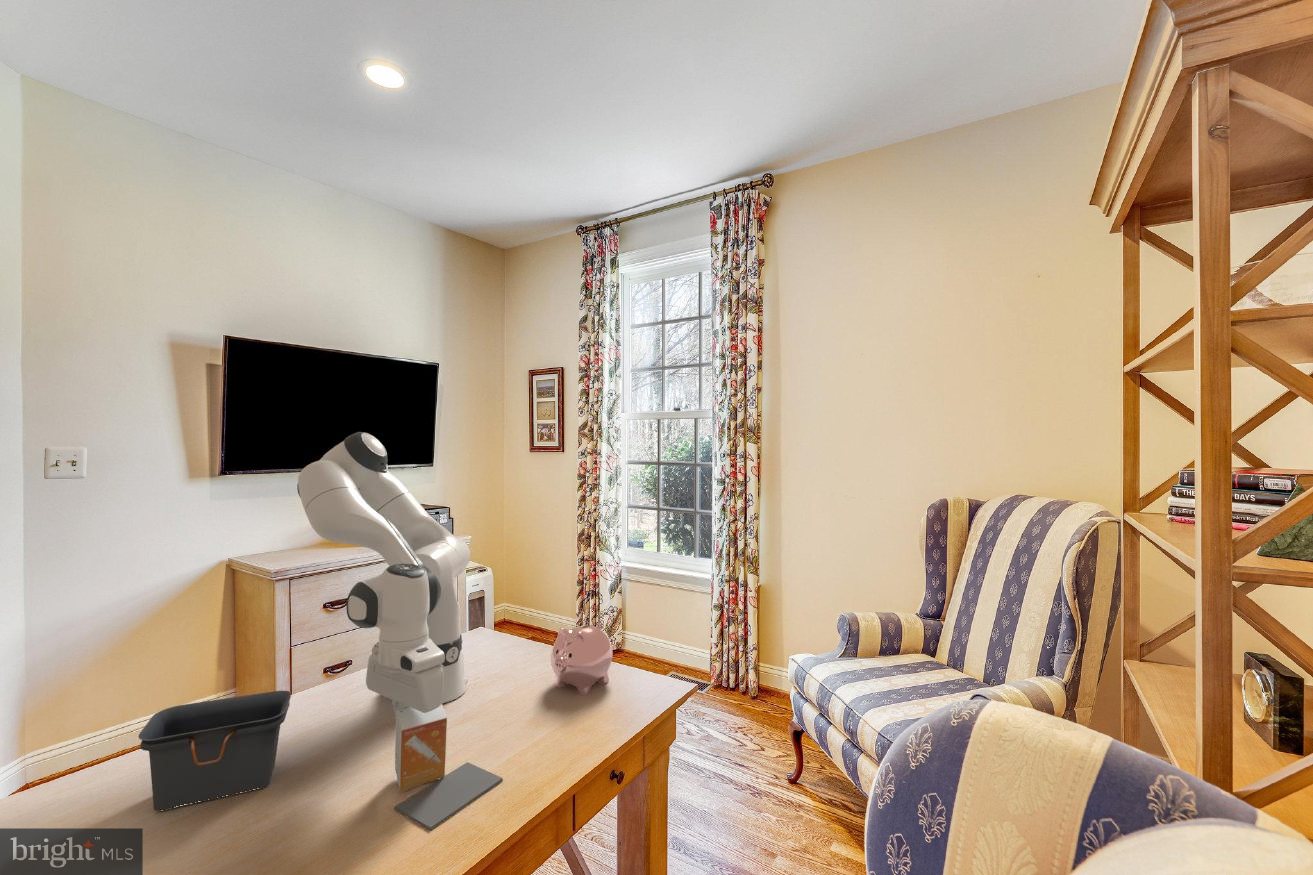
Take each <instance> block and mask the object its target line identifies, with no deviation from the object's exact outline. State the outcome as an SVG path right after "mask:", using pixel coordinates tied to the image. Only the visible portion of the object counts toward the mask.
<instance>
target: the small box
mask: <svg viewBox="0 0 1313 875" xmlns="http://www.w3.org/2000/svg"><path fill="white" fill-rule="evenodd" d="M447 723H448V718H447V715H446V712H445V709H444V706H443V703H441V705H440V706H439V707H438V708H436V709H434V710H432V711H430V712H427V713H423V712H420V711H418V710H416V709H413V708H411V707H407V708H404V709H400V710H397V711H396V722H395V743H394V745H395V746H394V750H395V751H394V752H395V754H394V759H395V760H394V770H395V774H396V778H397V779H396V780H397V784H398V789H399V792H400V793H402V792H403V791H407V790H409V789H411V788H414V787H418V786H421V785H423V784H427V783H429V782H432V781H435V780H436V781H437V780H439V779H440V778H443V777H444V776H445V775H446V755H447V754H446V751H447V749H446V748H447V726H448V724H447Z"/></svg>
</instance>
